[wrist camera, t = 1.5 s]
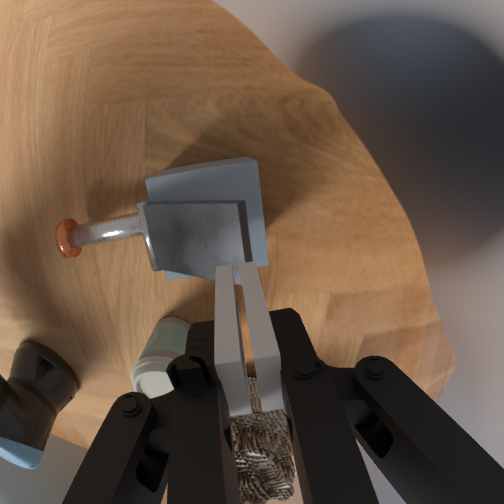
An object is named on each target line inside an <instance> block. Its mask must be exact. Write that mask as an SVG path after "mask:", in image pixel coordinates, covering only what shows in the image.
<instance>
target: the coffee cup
mask: <svg viewBox="0 0 504 504" xmlns="http://www.w3.org/2000/svg"><path fill="white" fill-rule="evenodd" d="M190 327H191V326H190V325H189V324H188V323H187V322H186V321H185V320H183V319H181V318H178V317H165V318H163V319H161V320H159V321H158V323H157V324H156V326H155V328H154V330H153V332H152V334H151V336H150V338H149V340H148V342H147V344H146V346H145V348H144V350H143V352H142V354H141V356H140V358H139V361H138V362H136V363H135V365H134V366H133V368H132V372H131V380H132V383H133V389H134V391H135V392H140V393H143V394H145V395H146V396H147V397H148V398H149V399H151V398H154V397H158V396H161V395H164V394H166V393H169V392H170V391H172V390H173V389H174V388H173V386H172V384H171V381H170V379H169V377H168V375H167V372H166V369H167V366H168V364H169V363H170V362H171V361H172V360H173V359H175V358H177V357H179V356H180V355H184V354H185V350H186V348H185V347H186V342H187V341H186V339H187V332H188V330H189V329H190Z"/></svg>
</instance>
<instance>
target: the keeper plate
mask: <svg viewBox="0 0 504 504" xmlns="http://www.w3.org/2000/svg"><path fill="white" fill-rule="evenodd" d="M136 206H137V211H138V215H139V220H140V224H141V228H142V233H143V237H144V241H145V245H146V249H147V253H148V256H149V260H150V264H151V268H152V271H160V270H165V271H170V272H175V273H180V274H185V275H190V276H195V277H200V278H205V279H211V280H215V278H216V267H218V266H225V265H232V271H233V277H234V283H235V284H238V285H242V281H241V274H240V267H239V263H246V262H252V261H253V258H252V251H251V243H250V235H249V227H248V219H247V211H246V203H245V200H192V201H161V202H149V200H143V201H140V202H137V203H136Z"/></svg>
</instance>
